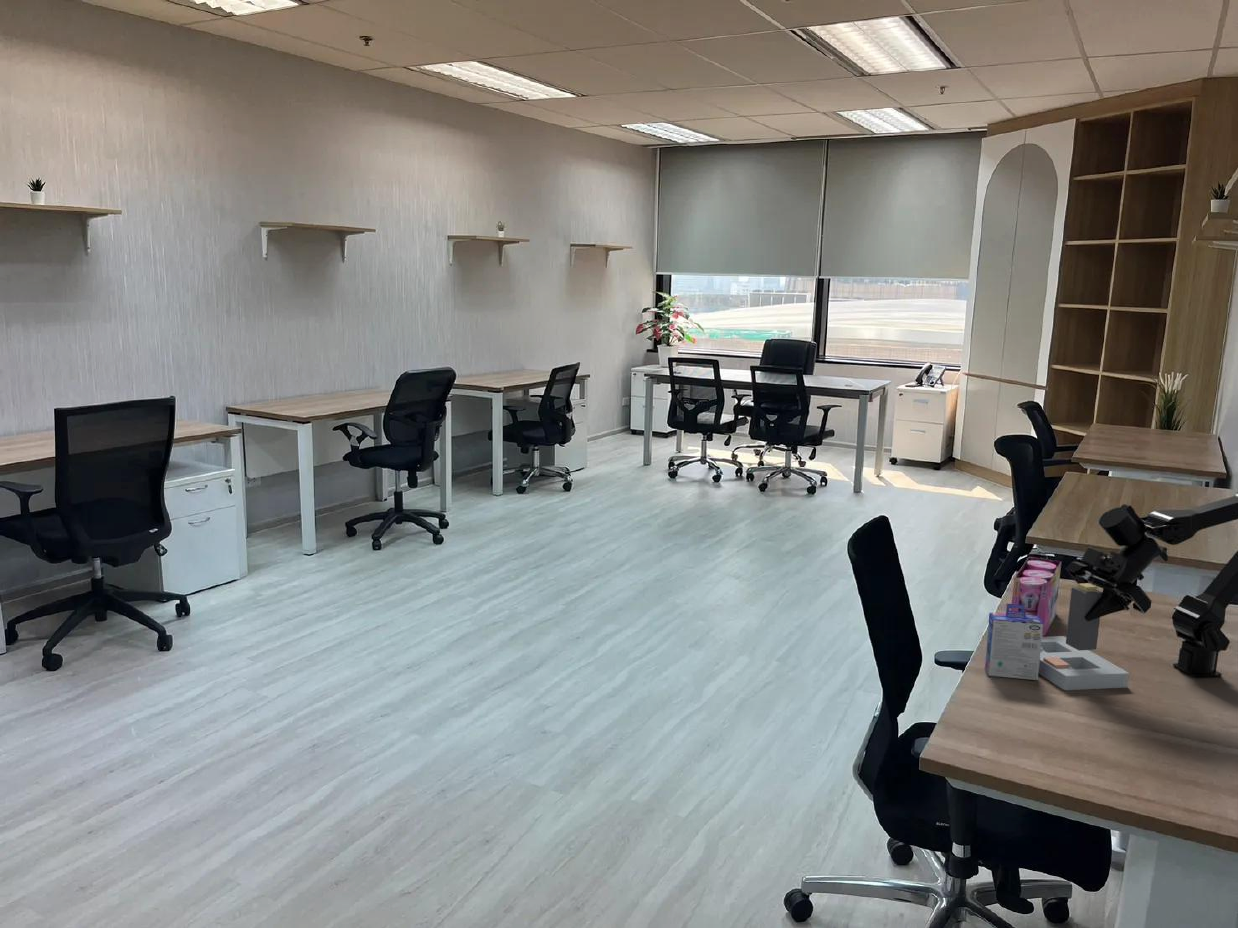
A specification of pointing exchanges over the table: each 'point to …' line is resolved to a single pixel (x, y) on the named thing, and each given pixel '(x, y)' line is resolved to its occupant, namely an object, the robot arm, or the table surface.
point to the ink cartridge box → (1014, 644)
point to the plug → (1082, 618)
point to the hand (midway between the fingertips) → (1078, 615)
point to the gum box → (1037, 589)
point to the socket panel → (1077, 667)
